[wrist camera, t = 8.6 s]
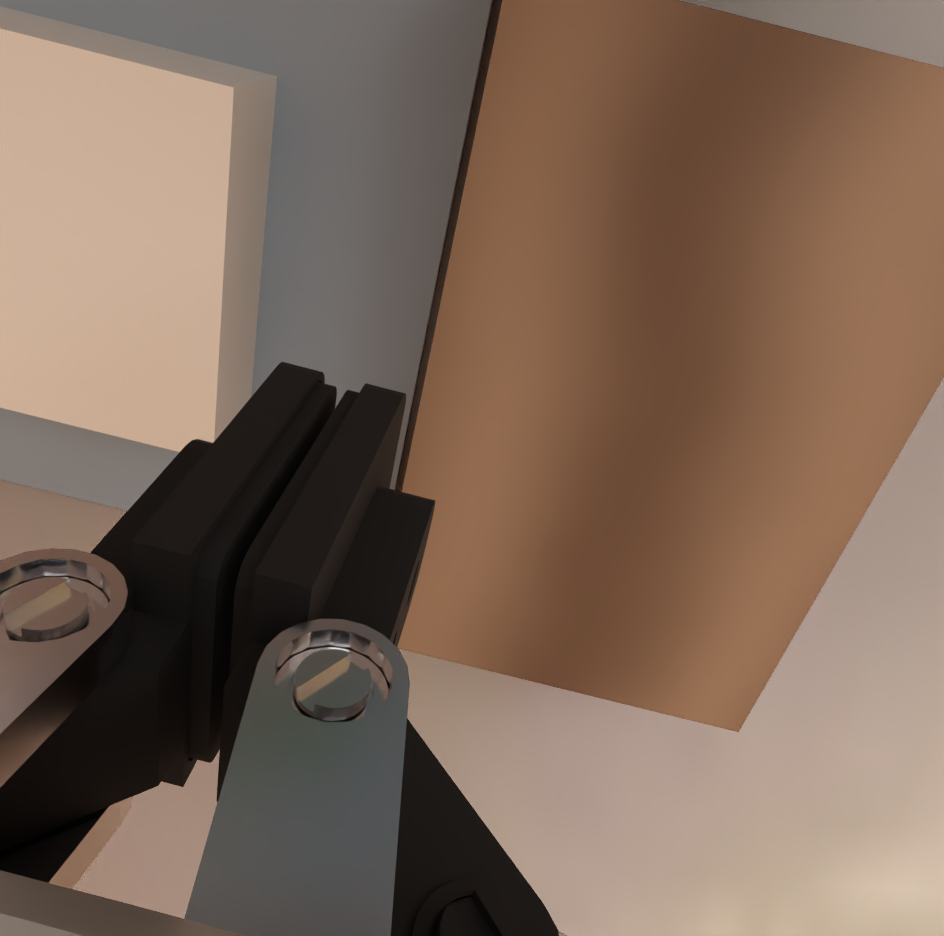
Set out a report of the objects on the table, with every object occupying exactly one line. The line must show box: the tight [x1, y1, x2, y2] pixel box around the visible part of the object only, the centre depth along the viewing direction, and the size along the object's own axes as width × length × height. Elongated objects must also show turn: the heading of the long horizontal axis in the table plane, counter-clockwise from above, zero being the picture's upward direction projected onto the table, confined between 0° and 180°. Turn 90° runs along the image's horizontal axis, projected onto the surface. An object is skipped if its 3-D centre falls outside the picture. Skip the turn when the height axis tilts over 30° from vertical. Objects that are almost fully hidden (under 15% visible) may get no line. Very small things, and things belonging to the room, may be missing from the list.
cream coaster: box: [0, 6, 277, 452], centre depth 17 cm, size 8×8×2 cm
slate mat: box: [0, 0, 493, 511], centre depth 19 cm, size 15×16×1 cm
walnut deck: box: [397, 0, 944, 732], centre depth 17 cm, size 9×14×4 cm, turn 167°
